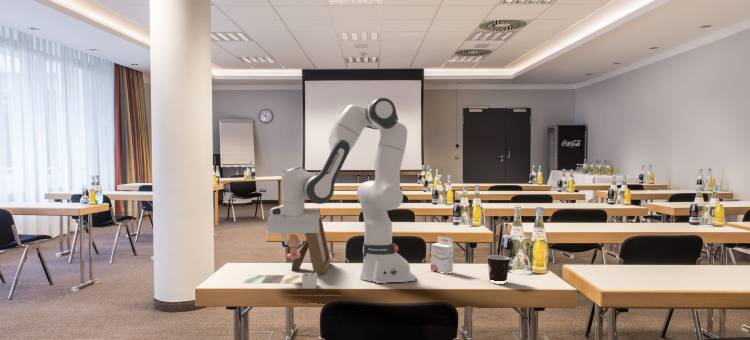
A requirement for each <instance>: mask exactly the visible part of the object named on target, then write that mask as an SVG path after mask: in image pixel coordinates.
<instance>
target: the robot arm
mask: <svg viewBox="0 0 750 340" xmlns="http://www.w3.org/2000/svg"><path fill="white" fill-rule="evenodd" d="M365 128H366V129H367V128H368V129H372V130H379V133H380V135H379V141H378V145H377V148H376V152H375V156H374V160H373V167H374V173H375V175H374V176H375V177H374V180H367V181H364V182H362V183H361V184H360V185H359V186H358V188H357V190H356V197H357V199H358V200H359V202H360V207H361V211H362V214H363V222H364V241H363V244H362V256H363V261H362V268H361V272H360V275H359V278H360V279H361V280H363V281H366V280H367V281H366V282H371V281H373V282H372V283H374V282H376V283H375V284H377V283H383V284H387V283H386V282H401V281H414V280H415V279H416V280H417V278H416V274H415V273H413V272H412V271H411V266H410V264H409V261H407V260H406V259H405V258H404V257H403V256H402V255H400V254H399V253H398V251H399V248H400V247H399V246H398V245H397V244H395V243H393V223H392V220H391V219H390V217H389V214H388V211H392V210H396V209H398V208H399V207H400V206H401V205H402V204H403V200H404V194H403V190H402V189H401V184H400V183H401V181H400V179H401V178H400V176H401V168H402V163H403V159H404V155H405V151H406V149H407V148H406V146H407V140H408V129H407V127H406V125H404V123H401V122H399V118H398V114H397V108H396V106H395V104H394V102H393V100H391V99H390V98H387V97H378V98H376V99H374V100H372V101H371V102H370V103H369V105H367V106H366V107H362V106H361V105H358V104H353V103H352V104H349V105H347V107H345V108H344V109H343V111H342V112H341V113H340V115H339V116H338V118H337V119H336V121H335V122H334V124H333V127H332V128H331V130H330V134H329V136H328V144H329V154H328V157H327V158H326V161H325V162H324V164H323V167H322V168H321V170H320V172H319V173H318V174H314V173H311V172H308V171H306V170H305V169H304V168H303V167H299V166H295V167H290V168H287V169H285V170H283V172H282V174H281V179H280V183H281V184H280V190H281V191H280V192H281V196H282V197H281V201H280V202H281V204H280V205H277V206H274V207H272V208H270V209H269V216H268V217H267V219H266V220H267V221H266V222H267V223H266V233H268V234H271V235H272V234H275V235H276V234H280V236H281V238H282V240H283V241H284V243H283V244H284V245H285V246H288V238H287V237H286V234H300V236H301V238H299V240H298V242H299V243H298V245H299V246H300V245H302V246H303V245H304V243H303V239H304V238H305V237H306V234H305V233H317V232H318V231H319V219H320V214H321V211H320V212H319V211H318V210H316V209H317V208H312V209H311V208H305V199H309V200H310V201H311V202H312V203H314V204H318V205H320V204H321V205H322V204H326V203H327V202H329V201H330V200H331V199H332V197H333V196H334V191H335V183H336V180H337V177H338V175H339V174H340V172H341V170H342V168H343V165H344V163H345V161H346V159H347V157H348V156H349V154H350V152H351V151H352V150H353V148H354V146H355V145H356V143H357V142H358V140H359V138H360V137H361V134H362V132H363V131H364V130H365ZM316 211H318V212H316ZM416 280H415V281H416ZM415 281H414V282H415Z"/></svg>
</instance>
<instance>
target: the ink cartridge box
mask: <svg viewBox="0 0 750 340" xmlns="http://www.w3.org/2000/svg"><path fill="white" fill-rule="evenodd" d="M436 240H437V242H436V243H431V246H430V247H431V249H430V250H431V251H430V253H431V254H430V271H431V270H433V271H432V272H434V271H438V272H444V273H449V272H452V271H453V272H454V239H453V238H452V237H451V238H450V237H446V236H440V235H438V236H437V239H436ZM445 240H446V241H445ZM438 272H437V273H438ZM453 272H452V273H453ZM449 274H450V273H449Z"/></svg>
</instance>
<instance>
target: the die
mask: <svg viewBox="0 0 750 340" xmlns="http://www.w3.org/2000/svg"><path fill="white" fill-rule="evenodd" d="M317 284H318V274H317V273H314V272H303V274H302V278H301V289H317Z"/></svg>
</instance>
